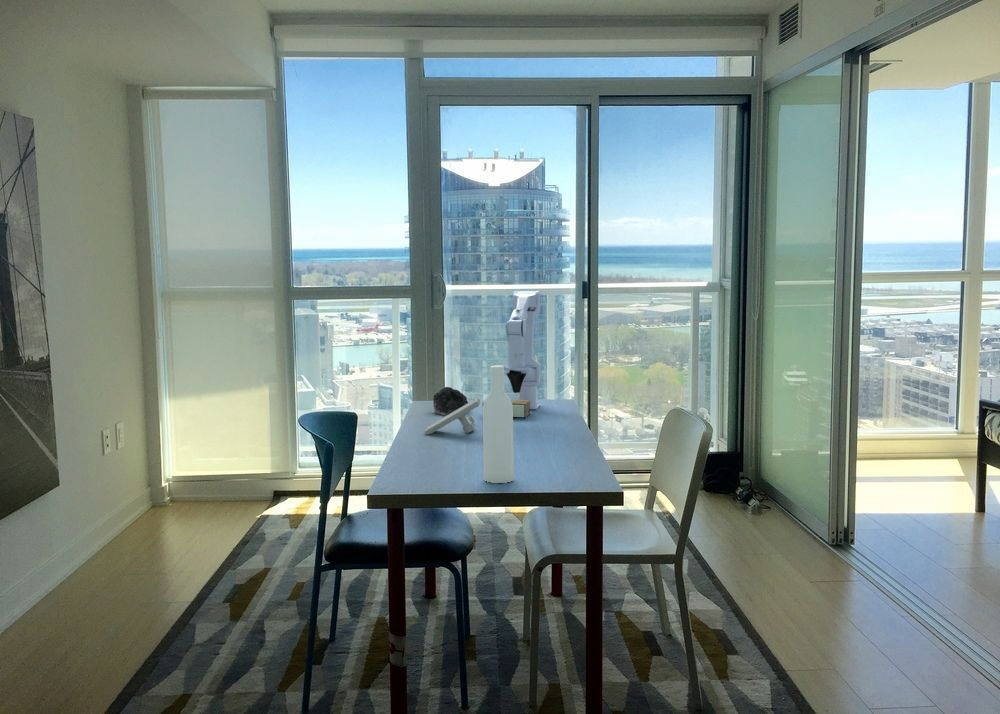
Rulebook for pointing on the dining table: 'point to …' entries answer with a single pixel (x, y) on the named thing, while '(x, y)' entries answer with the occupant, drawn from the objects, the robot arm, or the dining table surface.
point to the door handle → (457, 415)
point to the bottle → (498, 431)
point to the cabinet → (522, 402)
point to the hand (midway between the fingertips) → (516, 392)
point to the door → (519, 411)
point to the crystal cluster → (448, 401)
